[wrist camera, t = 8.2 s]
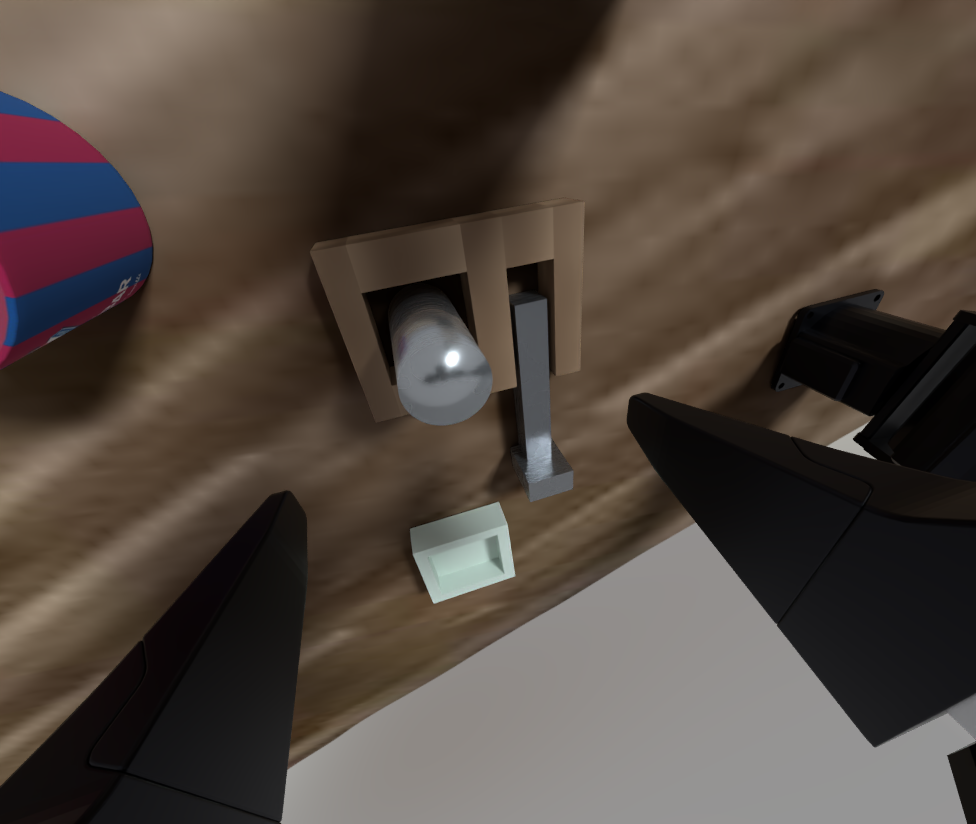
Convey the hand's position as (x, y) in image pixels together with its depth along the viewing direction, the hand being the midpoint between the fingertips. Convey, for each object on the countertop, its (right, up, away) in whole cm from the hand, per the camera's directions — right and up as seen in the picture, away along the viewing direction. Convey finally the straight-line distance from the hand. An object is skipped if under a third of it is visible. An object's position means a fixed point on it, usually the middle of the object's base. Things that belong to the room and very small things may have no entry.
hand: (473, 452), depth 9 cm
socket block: (-1, +6, +9) cm, 11 cm away
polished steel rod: (-3, +6, +8) cm, 11 cm away
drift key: (+3, +3, +12) cm, 13 cm away
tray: (-2, -9, +19) cm, 21 cm away
